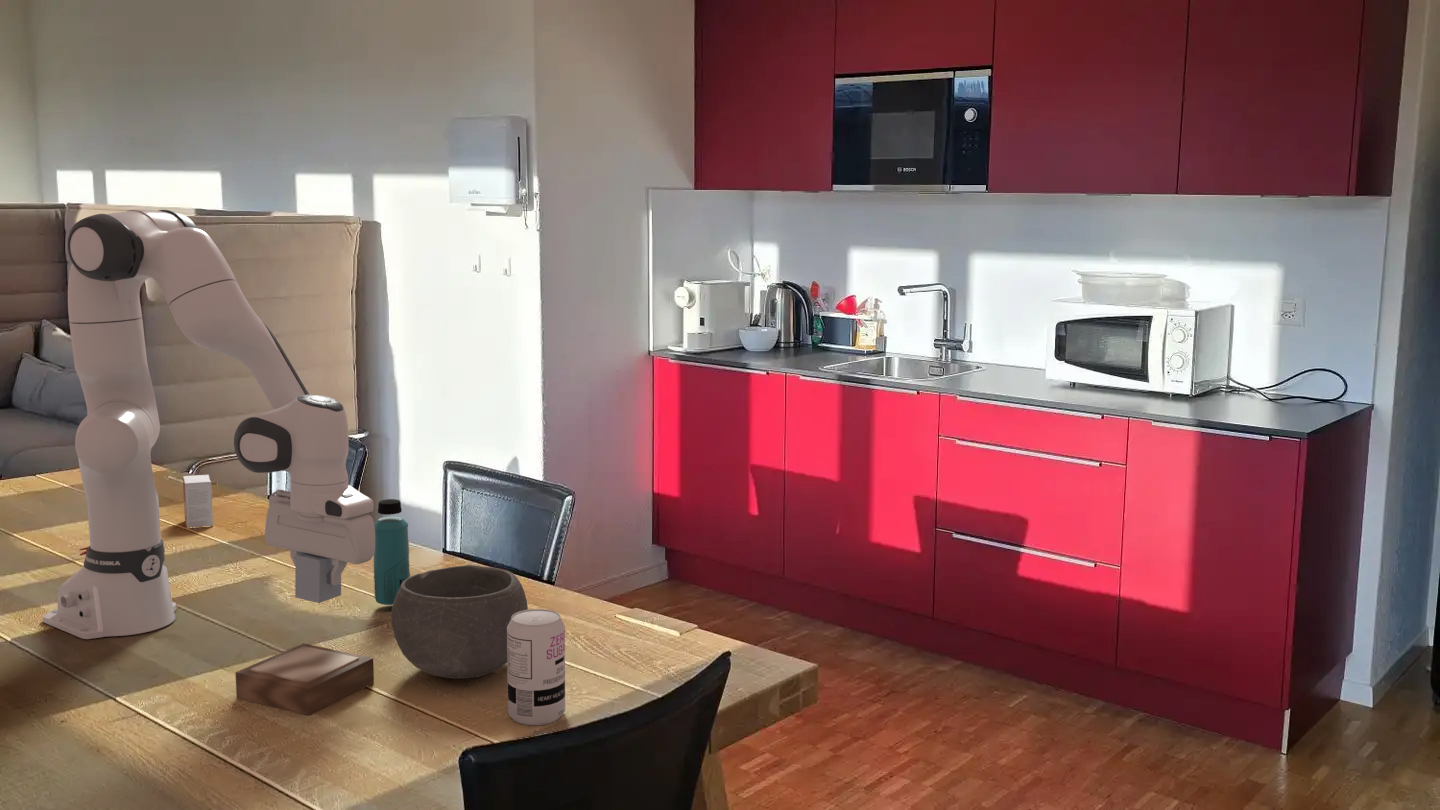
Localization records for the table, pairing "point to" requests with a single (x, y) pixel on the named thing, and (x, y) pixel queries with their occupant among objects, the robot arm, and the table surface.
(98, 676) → the table surface
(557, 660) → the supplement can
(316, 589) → the block
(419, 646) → the bowl
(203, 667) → the table surface
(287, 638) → the table surface
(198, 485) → the small box
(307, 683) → the base
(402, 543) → the beverage bottle
